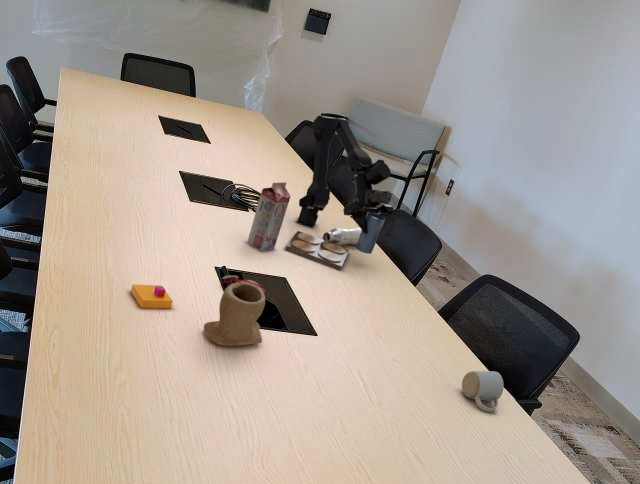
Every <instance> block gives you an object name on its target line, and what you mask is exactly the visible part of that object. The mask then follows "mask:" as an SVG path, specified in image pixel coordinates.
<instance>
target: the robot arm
mask: <svg viewBox="0 0 640 484" xmlns="http://www.w3.org/2000/svg"><path fill="white" fill-rule="evenodd" d="M312 134H313V137H314V139H315V152H314V161H313V162H314V163H313V171H312V172H313V173H312V181H311V183H310V185H309V186H308V188H307V189H306V194H305V195H304V196H302V197H301V198H299V200H298V206H300V207H301V209H300V212H299V215H298V217H297V220H296V223H297V224H300V225H302V226H305V227H308V228H311V229H312V228H313V227H314V226H316V225H317V222H318V219H319V215H320V214H319V212H323V211H324V210H325V208H326V207H327V206H328V205H329V201H330V200H331V197H330V196H331V188H329V187H328V185H327V174H328V165H329V164H328V163H329V156H330V155H329V154H330V147H331V142H332V141H333V139H334V137H336V135H337V137H338V139H339V141H340V143H341V145H342V147H343V149H344V151H345V152H346V163H347V166H348V169H349V170H350V171H351V172H353V173H354V172H355V173H358V174H353V175H352V177H351V178H350V181H349V183H352V184H354V185H355V189H356V194H355V196H354V199H355V200H357V201H352V202H349V203H347V204H346V205H344V207H343V215H344V216H349V218H350V219H352V220H353V221H354V222H355V224H356V225H357V226H358V228H361V230H362V231H363V232H364V234H367V233H368V230H367V222H366V218H367V216H368V213H376V214H379V215H381V216H383V217H384V218H385V219H386V218H387V217H388V216H390V215H392V214H394V213H395V211H394V206H392V204H391V205H390V204H388V203H389V202H390V201H392V193H391V191H390V190H384V191H383V192H379V191H377V190H375V189H374V186H377V185H378V184H380V183H382V182H383V181H386V180H387V179H388V178H390V177H391V174H392V173H391V169H390V167H389V165H388V164H387V163H385V159H381V158H379V159H377V160H376V161H374V162H373V160H372V158H371V156H370V155H369V153H367V151H365V150H364V149H362V148H361V146H360V144H359V143H358V140H357V138H356V137H355V135H354V133H353V131H352V128H351V127H350V122H349V121H348V120H347V119H346V118H341V117H330V116H324V115H318V116H316V117H315V119H314V120H313V123H312ZM381 204H382V205H381ZM382 230H383V228H382V229H381V231H380V234H379V236H380V235H381V234H382Z"/></svg>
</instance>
